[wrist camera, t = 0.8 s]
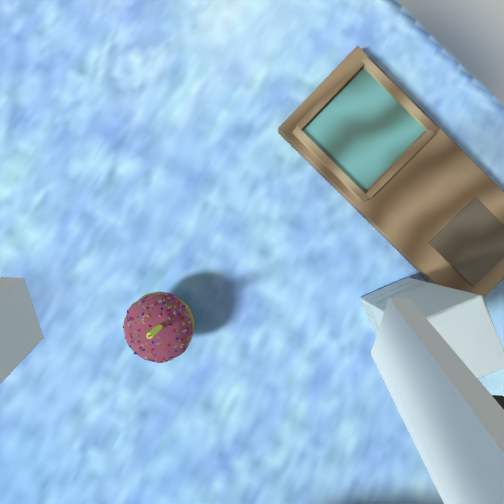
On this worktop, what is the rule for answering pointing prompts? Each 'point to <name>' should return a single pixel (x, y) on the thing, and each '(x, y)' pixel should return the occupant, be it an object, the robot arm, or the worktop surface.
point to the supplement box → (447, 320)
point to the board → (402, 175)
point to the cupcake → (159, 327)
